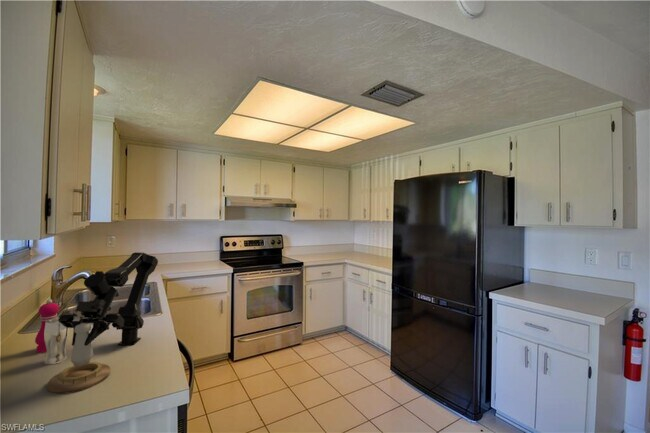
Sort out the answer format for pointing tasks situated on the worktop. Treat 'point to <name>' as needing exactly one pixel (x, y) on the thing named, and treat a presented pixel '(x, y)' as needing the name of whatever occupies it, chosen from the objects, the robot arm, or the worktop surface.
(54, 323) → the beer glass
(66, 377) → the ring tray
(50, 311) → the pepper mill
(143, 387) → the worktop surface
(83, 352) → the salt shaker
